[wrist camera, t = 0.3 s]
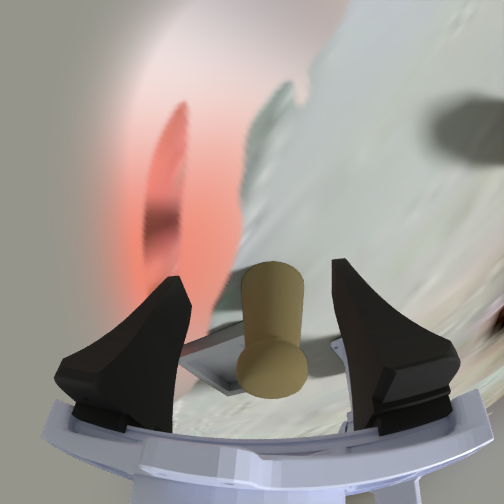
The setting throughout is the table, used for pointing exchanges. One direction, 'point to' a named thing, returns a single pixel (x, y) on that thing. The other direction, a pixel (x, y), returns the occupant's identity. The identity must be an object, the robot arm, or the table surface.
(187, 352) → the socket holder
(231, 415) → the table surface
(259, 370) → the cork
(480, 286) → the table surface
